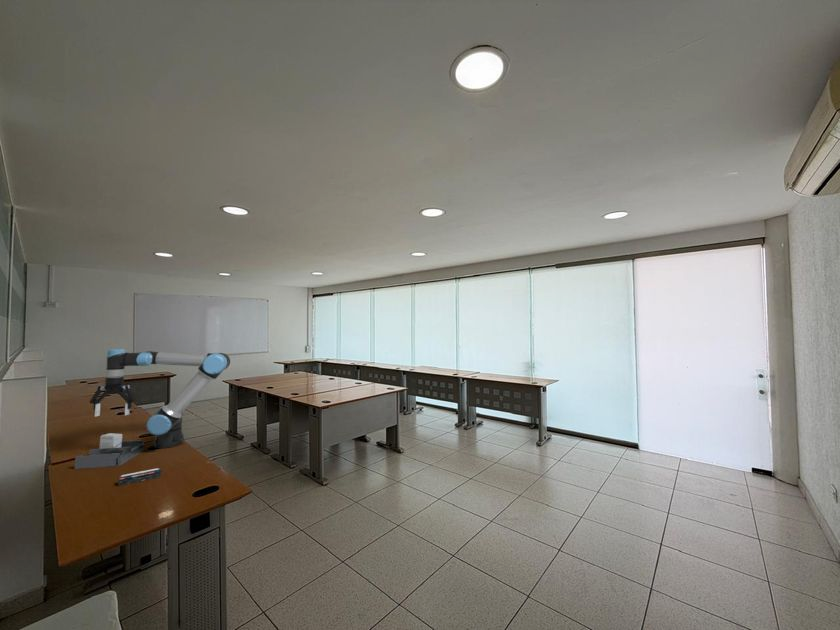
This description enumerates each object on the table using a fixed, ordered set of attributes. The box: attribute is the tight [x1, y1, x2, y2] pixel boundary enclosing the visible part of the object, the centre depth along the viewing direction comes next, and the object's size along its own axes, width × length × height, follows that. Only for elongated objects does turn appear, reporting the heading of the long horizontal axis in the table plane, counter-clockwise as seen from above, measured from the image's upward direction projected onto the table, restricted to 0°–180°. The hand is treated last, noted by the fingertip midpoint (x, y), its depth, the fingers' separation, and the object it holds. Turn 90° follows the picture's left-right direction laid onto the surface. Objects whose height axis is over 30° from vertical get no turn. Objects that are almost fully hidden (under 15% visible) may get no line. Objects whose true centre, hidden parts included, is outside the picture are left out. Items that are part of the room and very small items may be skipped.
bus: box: [117, 467, 163, 487], centre depth 152 cm, size 14×25×4 cm, turn 129°
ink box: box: [98, 432, 123, 449], centre depth 182 cm, size 9×5×12 cm, turn 84°
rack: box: [74, 439, 145, 470], centre depth 178 cm, size 19×22×6 cm
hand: (112, 415), depth 183 cm, fingers open, 13 cm apart
